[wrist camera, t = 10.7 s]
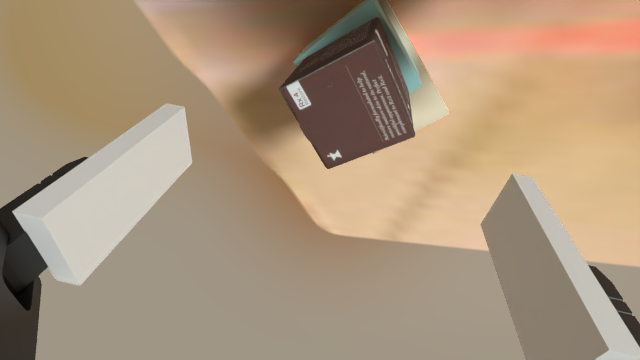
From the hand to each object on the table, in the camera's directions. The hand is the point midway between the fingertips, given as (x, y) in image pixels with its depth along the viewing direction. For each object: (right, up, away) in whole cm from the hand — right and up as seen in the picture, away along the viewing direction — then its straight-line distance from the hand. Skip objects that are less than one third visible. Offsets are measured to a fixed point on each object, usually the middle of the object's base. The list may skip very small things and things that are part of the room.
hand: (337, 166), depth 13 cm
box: (+2, +7, +11) cm, 13 cm away
